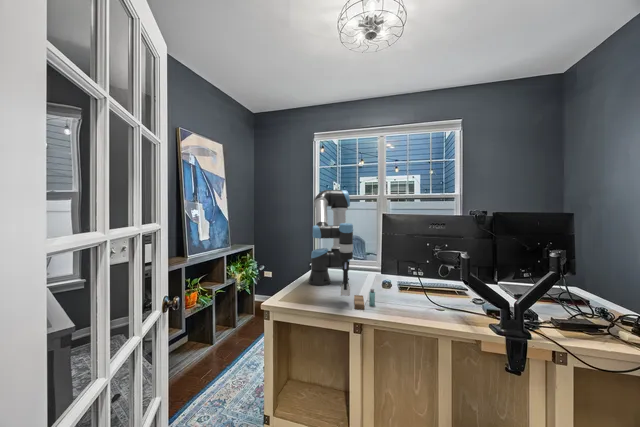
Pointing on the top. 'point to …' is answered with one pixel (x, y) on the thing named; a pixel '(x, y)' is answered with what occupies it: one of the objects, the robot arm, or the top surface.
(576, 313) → the top surface
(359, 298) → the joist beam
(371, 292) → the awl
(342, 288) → the pale grey block
